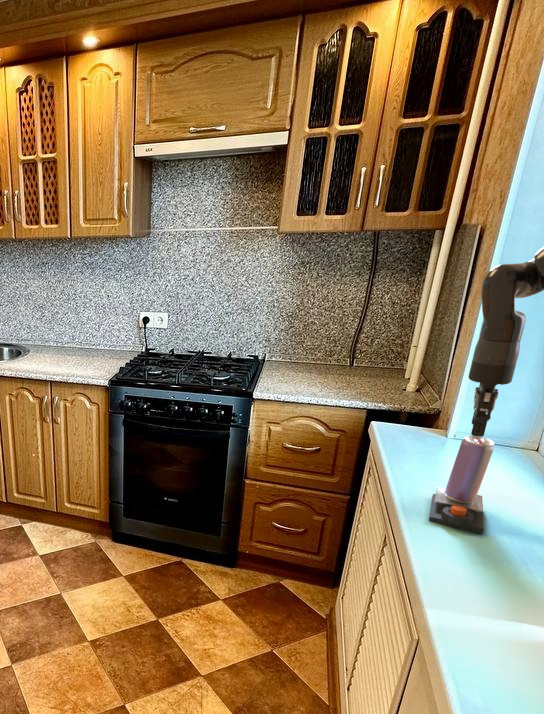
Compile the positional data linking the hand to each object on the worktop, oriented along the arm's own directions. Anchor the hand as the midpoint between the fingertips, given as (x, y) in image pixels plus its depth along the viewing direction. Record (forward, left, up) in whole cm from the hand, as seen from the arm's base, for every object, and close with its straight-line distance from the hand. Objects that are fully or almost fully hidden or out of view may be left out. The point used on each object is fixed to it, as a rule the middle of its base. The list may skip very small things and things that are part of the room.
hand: (477, 430), depth 119 cm
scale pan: (0, 0, -18) cm, 18 cm away
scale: (+1, +2, -21) cm, 21 cm away
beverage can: (0, 0, -17) cm, 17 cm away
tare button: (+4, +7, -18) cm, 20 cm away
